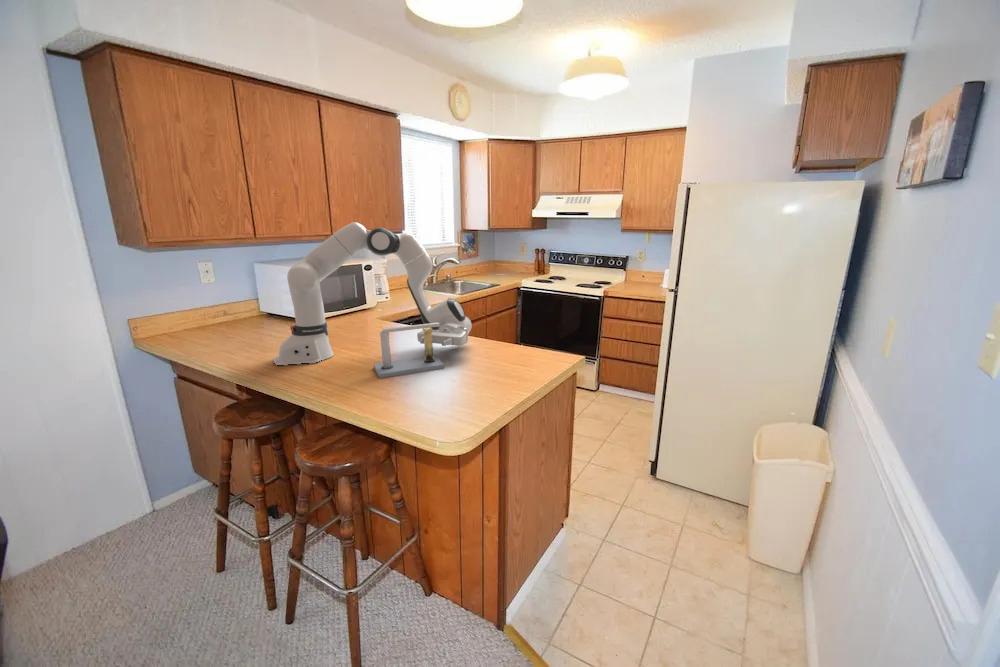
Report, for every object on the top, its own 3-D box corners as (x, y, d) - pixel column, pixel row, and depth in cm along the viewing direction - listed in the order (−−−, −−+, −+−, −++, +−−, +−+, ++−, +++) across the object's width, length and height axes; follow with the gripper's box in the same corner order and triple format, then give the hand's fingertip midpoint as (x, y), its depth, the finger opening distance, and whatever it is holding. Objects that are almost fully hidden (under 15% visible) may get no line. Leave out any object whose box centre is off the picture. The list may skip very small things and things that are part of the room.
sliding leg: (426, 361, 163) (424, 330, 159) (424, 359, 165) (422, 328, 162) (434, 360, 164) (432, 329, 161) (432, 358, 167) (430, 327, 163)
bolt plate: (379, 378, 152) (375, 334, 148) (374, 367, 163) (370, 326, 158) (445, 367, 162) (443, 326, 157) (436, 358, 172) (434, 319, 168)
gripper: (426, 324, 181) (408, 332, 168) (470, 328, 174) (455, 336, 161) (427, 339, 182) (409, 348, 170) (471, 343, 175) (456, 352, 163)
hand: (432, 342), depth 165 cm, fingers open, 8 cm apart
